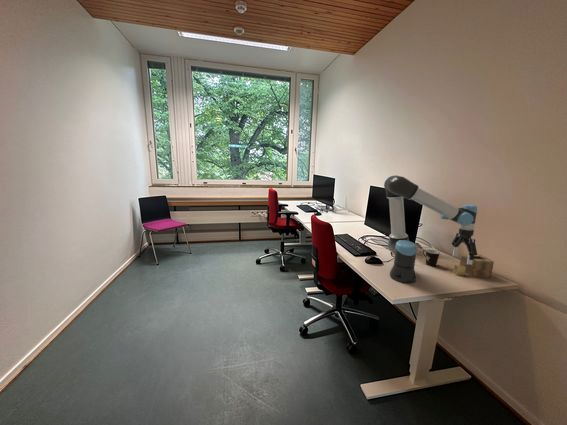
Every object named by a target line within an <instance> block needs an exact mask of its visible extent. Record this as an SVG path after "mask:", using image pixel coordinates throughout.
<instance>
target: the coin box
mask: <svg viewBox="0 0 567 425" xmlns="http://www.w3.org/2000/svg"><path fill="white" fill-rule="evenodd" d="M468 254H469V253H461V254H460V259H459V265H463V266H465V267H466V269H465V274H467V275H468V276H470V277H475V278H476V277H477V278H478V277H479V278H491V277H492V272H493V269H494V263H495V261H494V260H492V259H490V258H487V257H486V256H484V255H482V254H481V253H479V254H478V253H477V255H474V258H473V261H472V265H471V264H467V259H468Z"/></svg>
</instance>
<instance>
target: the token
mask: <svg viewBox="0 0 567 425" xmlns="http://www.w3.org/2000/svg"><path fill="white" fill-rule="evenodd" d="M465 269H466V267H465V266H463V265H460V264H454V268H453V274H455V276H465V274H466V273H465Z"/></svg>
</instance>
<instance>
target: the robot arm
mask: <svg viewBox="0 0 567 425" xmlns="http://www.w3.org/2000/svg"><path fill="white" fill-rule="evenodd" d="M383 187H384V190H385V195H386V199H388V204H389V218H390V232H391V233H390V234H389V235H388V238H389V240H388V248H389V250H390V251H391V252H392V254H393V255H394V259H393V260H394V261H393V265H392V267H391V269H390V272H389V277H390V278H391V279H392V280H394V281H397V282H399V283H404V284H413V283H416V281H417V274H416V270H415V265H416V264H415V263H416V256H417V251H418V250H417V249H418V247H417V244H416V243H414V242H413V241H410V240H409V235H408V234H407V233H406V221H405V219H406V218H405V206H404V199H406V200H408V201H409V200H412V201H415V202H416V203H418V204H419V205H422V206H423V207H426V208H428V209H429V210H432V211H433V212H436V213H437V214H439V217H440V219H441V220H450V221H452V222H454V223H456V224H459V225H458V226H459V229H458V232H456V234H455V237H454V239H453V240H452V242H451V245H452V246H453V252H452V257H458V255H459V246H460V245H461V244H462V243H463V244H464V245H465V247H466V248H467V251H468V253H467V254H468V259H467V264H471V265H472V261H473V258H474V255H477V254H478V252H477V246H476V238H472V237H473V236H474V234H475V233H474V230H475V225H476V221H477V220H476V219H477V214H478V206H477V205H475V204H462V206H461V207H456V206H455V205H452V204H451V203H449V202H447V201H444V200H442V199H441V198H439V197H438V196H436V195H433V194H431V193H429V192H428V191H425V190H423V189H422V188H420V186H419V185H417V184H416V183H414V182H412V181H411V180H410V179H408V178H406V177H404V176H399V175H390V176H389V177H387V178H386V179H385V181H384V184H383Z"/></svg>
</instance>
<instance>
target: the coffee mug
mask: <svg viewBox="0 0 567 425" xmlns="http://www.w3.org/2000/svg"><path fill="white" fill-rule="evenodd" d="M422 254H423V256H424V257H425V265H427V267H428V266H429V267H436V266H437V264H438V260H439V257H440V251H438V250H435V249H424V250H423V251H422Z"/></svg>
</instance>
